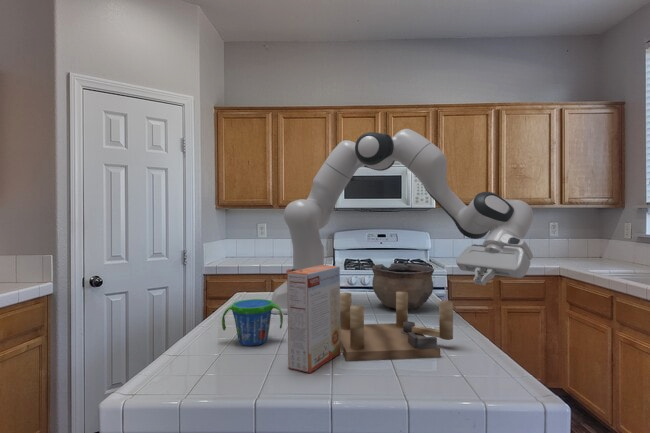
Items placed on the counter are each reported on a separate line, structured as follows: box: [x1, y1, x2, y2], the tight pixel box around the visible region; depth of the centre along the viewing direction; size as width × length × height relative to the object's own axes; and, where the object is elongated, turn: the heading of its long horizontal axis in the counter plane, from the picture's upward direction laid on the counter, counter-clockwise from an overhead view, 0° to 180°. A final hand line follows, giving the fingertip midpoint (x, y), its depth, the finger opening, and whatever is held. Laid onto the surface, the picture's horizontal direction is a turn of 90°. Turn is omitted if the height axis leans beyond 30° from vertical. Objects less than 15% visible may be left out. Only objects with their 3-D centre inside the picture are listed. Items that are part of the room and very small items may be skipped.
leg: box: [403, 300, 454, 341], centre depth 97 cm, size 13×3×9 cm, turn 51°
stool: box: [340, 292, 441, 362], centre depth 97 cm, size 22×22×11 cm
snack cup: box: [221, 298, 284, 347], centre depth 98 cm, size 16×10×10 cm
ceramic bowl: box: [371, 262, 435, 310], centre depth 137 cm, size 22×22×15 cm
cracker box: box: [286, 264, 342, 374], centre depth 85 cm, size 14×6×21 cm, turn 149°
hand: (478, 283), depth 104 cm, fingers closed
